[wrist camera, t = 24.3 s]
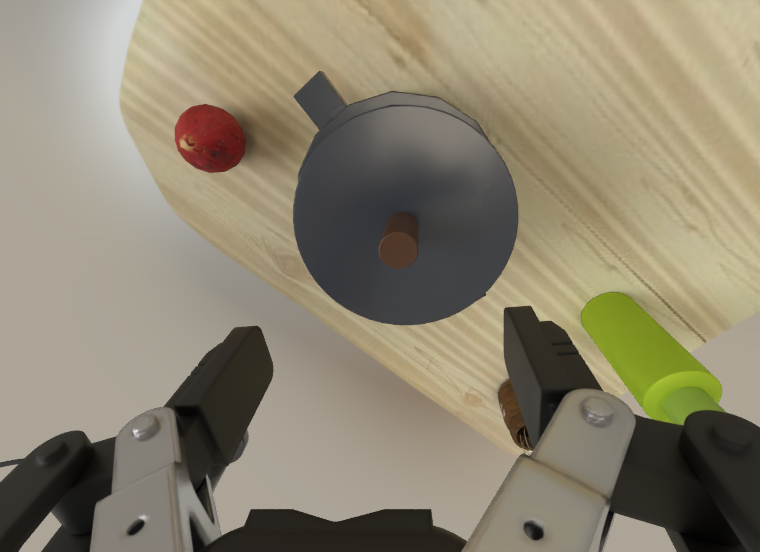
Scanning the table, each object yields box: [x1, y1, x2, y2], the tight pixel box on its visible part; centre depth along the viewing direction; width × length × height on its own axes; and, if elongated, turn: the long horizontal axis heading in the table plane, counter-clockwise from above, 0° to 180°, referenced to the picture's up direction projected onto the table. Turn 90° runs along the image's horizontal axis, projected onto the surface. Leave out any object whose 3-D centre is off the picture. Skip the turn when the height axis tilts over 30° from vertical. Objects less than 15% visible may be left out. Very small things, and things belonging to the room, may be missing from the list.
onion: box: [175, 104, 246, 173], centre depth 33 cm, size 6×6×8 cm
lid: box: [293, 105, 518, 325], centre depth 24 cm, size 16×16×6 cm
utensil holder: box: [498, 380, 533, 453], centre depth 43 cm, size 6×6×12 cm
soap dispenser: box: [581, 292, 726, 425], centre depth 33 cm, size 6×7×20 cm
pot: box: [294, 71, 490, 300], centre depth 31 cm, size 15×20×12 cm
